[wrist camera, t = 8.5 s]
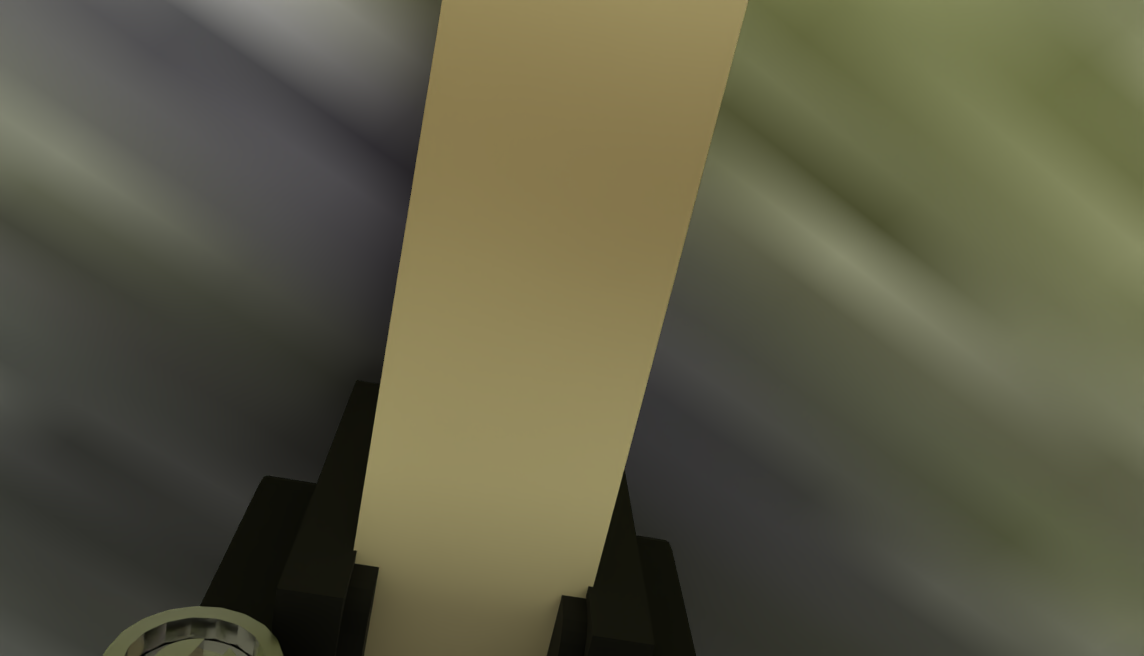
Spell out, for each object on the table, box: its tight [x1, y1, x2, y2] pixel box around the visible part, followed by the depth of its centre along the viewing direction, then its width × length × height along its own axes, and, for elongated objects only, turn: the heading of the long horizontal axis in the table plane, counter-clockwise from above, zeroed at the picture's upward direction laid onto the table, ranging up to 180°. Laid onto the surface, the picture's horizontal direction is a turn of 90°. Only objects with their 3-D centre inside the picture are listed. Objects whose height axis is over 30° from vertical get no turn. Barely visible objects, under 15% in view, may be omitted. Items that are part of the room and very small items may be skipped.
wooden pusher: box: [354, 0, 748, 656], centre depth 9 cm, size 31×9×4 cm, turn 168°
